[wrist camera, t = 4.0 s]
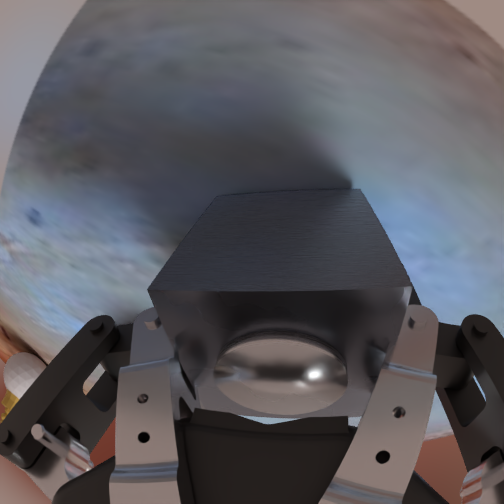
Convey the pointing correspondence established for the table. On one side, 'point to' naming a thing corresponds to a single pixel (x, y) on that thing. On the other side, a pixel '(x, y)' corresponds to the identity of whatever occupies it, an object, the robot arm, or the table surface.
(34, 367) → the perfume bottle
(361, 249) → the cube with chrome knob
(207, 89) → the table surface
